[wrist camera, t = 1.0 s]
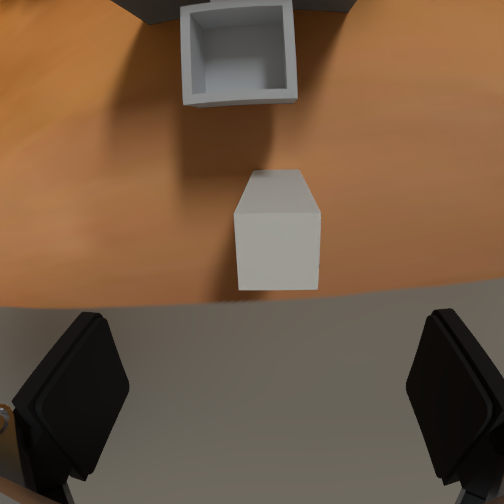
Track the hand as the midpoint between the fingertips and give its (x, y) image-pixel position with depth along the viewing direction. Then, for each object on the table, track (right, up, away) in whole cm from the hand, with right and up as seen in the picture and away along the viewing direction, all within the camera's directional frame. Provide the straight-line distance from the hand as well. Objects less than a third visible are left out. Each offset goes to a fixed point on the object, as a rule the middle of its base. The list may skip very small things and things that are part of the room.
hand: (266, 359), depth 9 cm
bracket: (-1, +23, +14) cm, 27 cm away
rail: (+2, +8, +20) cm, 21 cm away
